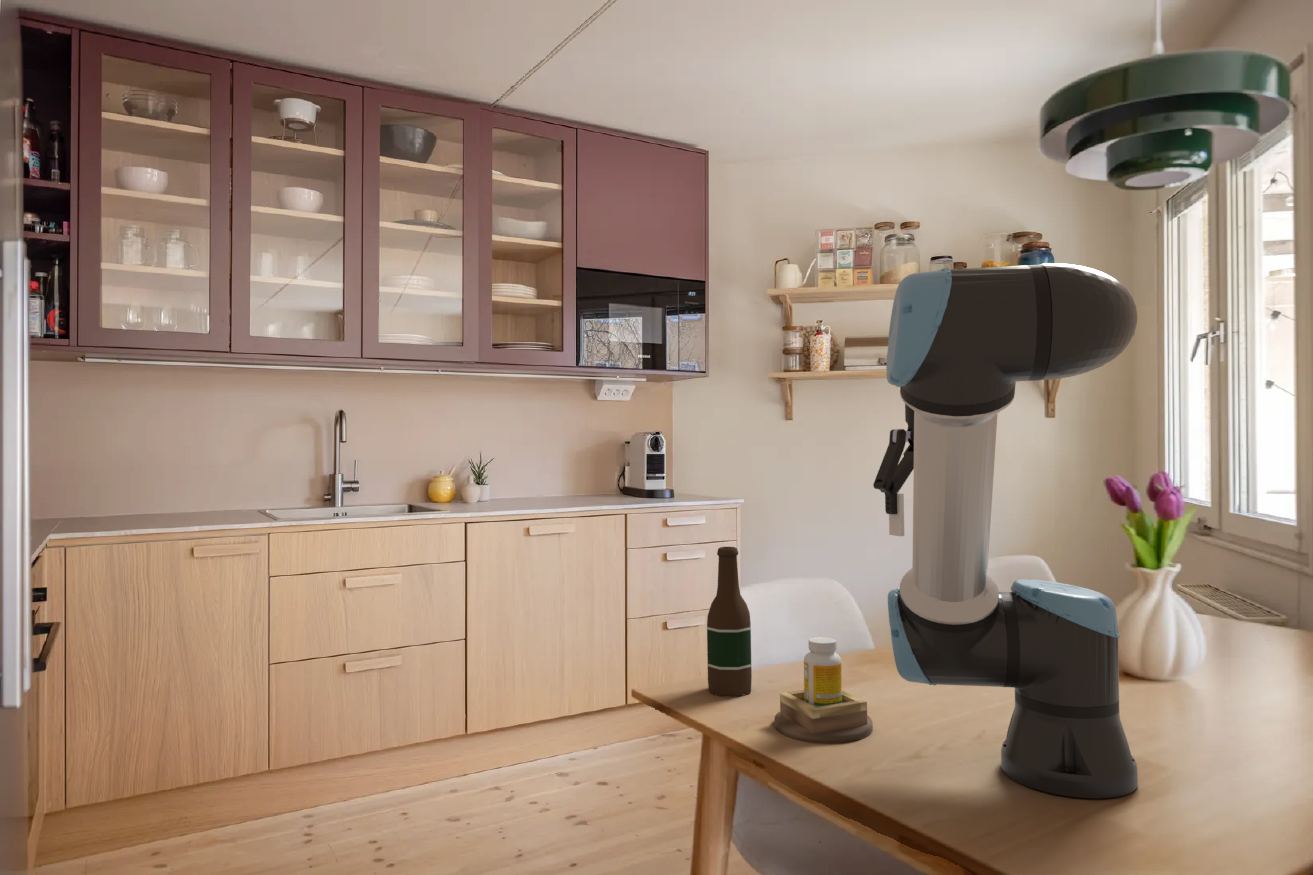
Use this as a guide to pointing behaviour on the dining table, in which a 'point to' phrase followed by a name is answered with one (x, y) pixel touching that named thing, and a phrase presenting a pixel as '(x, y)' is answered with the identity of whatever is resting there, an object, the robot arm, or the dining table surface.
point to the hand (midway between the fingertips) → (932, 533)
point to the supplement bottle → (822, 673)
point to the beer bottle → (729, 632)
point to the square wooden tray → (823, 719)
